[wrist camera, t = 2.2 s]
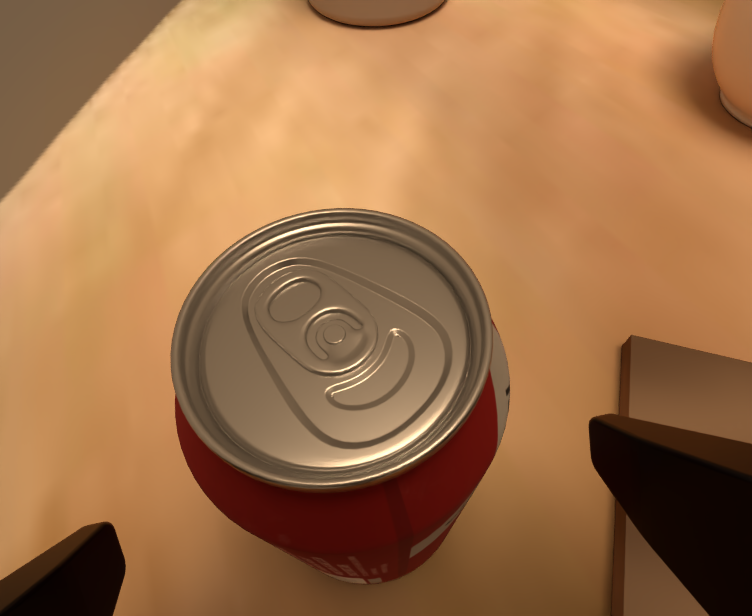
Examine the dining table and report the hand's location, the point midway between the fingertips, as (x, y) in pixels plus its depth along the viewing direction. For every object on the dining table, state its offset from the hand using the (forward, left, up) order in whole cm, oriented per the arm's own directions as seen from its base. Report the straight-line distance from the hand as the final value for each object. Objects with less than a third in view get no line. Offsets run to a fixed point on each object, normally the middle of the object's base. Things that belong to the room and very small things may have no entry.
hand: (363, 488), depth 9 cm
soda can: (+2, +1, -10) cm, 10 cm away
